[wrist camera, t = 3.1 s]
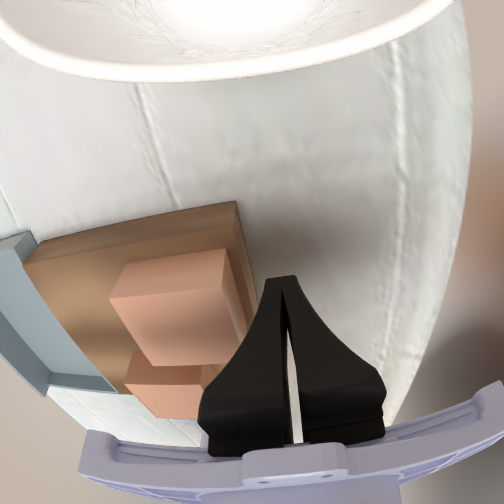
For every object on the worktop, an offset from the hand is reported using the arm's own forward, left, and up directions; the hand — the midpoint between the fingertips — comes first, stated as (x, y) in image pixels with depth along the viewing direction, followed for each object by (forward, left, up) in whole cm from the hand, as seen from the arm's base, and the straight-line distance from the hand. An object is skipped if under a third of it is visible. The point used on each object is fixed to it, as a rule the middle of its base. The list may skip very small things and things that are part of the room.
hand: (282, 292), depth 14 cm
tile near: (0, +5, -1) cm, 5 cm away
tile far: (-7, +8, -1) cm, 10 cm away
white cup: (+14, 0, -3) cm, 14 cm away
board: (-3, +8, -3) cm, 9 cm away
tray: (-3, +20, -3) cm, 21 cm away
